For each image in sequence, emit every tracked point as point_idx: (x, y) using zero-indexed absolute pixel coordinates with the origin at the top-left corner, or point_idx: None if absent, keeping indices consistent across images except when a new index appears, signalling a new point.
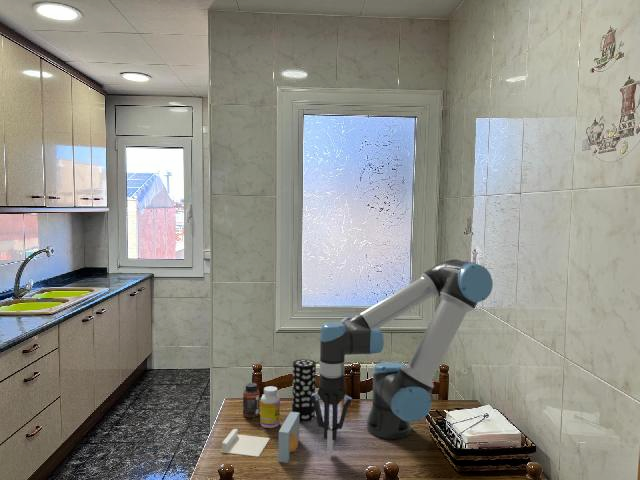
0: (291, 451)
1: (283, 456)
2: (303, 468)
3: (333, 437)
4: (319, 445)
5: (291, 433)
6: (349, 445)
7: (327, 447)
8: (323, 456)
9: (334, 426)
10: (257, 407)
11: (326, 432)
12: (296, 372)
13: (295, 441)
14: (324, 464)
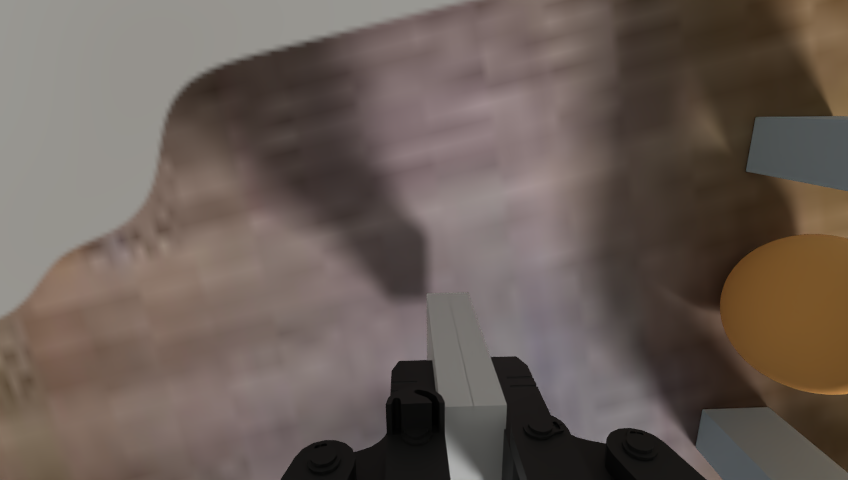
0: (753, 251)
1: (834, 117)
2: (621, 62)
3: (421, 376)
4: None
5: (802, 454)
6: None
7: (468, 306)
8: (488, 278)
9: (412, 459)
10: None
11: (512, 400)
12: None
13: (784, 299)
14: (462, 165)
